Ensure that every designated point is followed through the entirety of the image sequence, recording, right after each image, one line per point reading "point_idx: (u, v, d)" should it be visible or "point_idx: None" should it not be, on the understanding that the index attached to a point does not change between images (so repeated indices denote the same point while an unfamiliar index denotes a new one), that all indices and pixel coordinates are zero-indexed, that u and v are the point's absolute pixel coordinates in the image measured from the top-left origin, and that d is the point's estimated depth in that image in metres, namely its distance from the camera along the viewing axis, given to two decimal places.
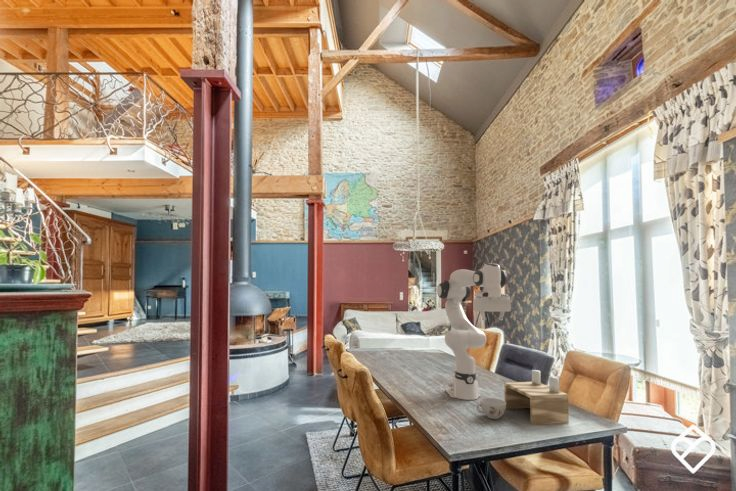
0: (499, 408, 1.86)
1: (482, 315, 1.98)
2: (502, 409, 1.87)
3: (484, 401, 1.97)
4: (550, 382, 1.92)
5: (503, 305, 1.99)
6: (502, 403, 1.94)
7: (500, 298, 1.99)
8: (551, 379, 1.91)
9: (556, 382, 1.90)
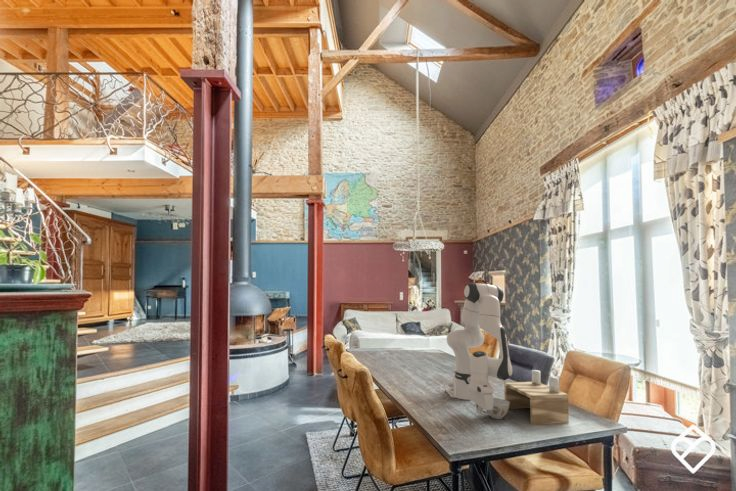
0: (502, 408, 1.86)
1: (482, 409, 1.88)
2: (505, 409, 1.87)
3: None
4: (550, 382, 1.92)
5: None
6: (505, 403, 1.94)
7: None
8: (551, 379, 1.91)
9: (556, 382, 1.90)
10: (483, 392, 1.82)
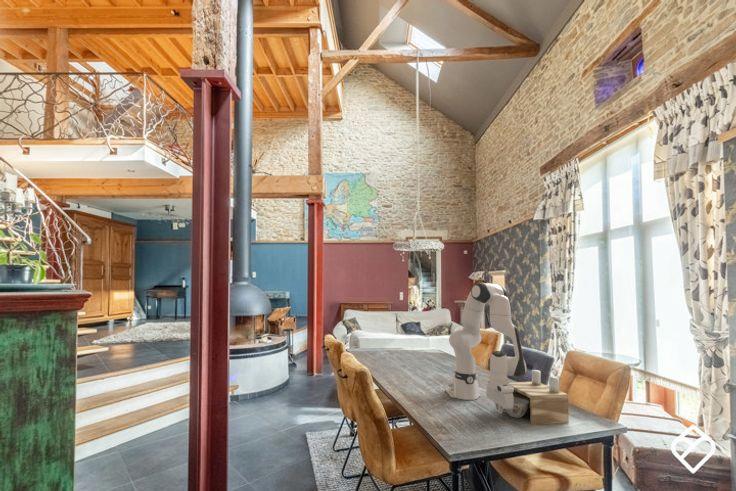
0: (522, 407, 1.88)
1: (501, 408, 1.91)
2: (525, 408, 1.89)
3: None
4: (550, 382, 1.92)
5: None
6: (524, 402, 1.96)
7: None
8: (551, 379, 1.91)
9: (556, 382, 1.90)
10: (503, 391, 1.85)
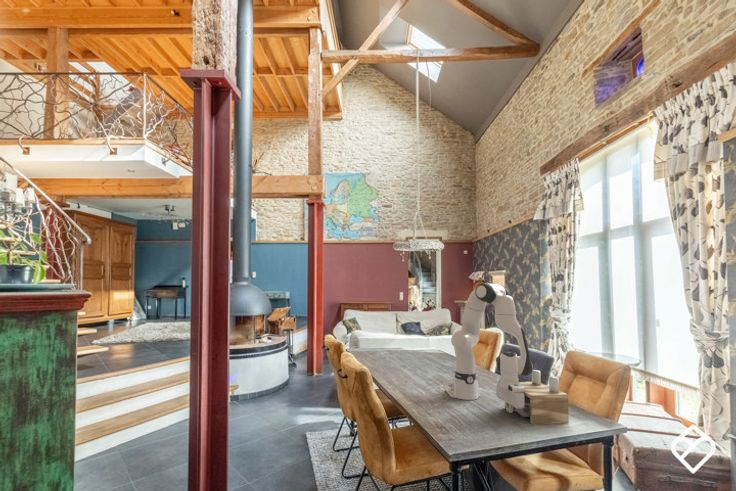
0: None
1: (512, 408, 1.92)
2: None
3: None
4: (550, 382, 1.92)
5: None
6: None
7: None
8: (551, 379, 1.91)
9: (556, 382, 1.90)
10: (514, 391, 1.86)
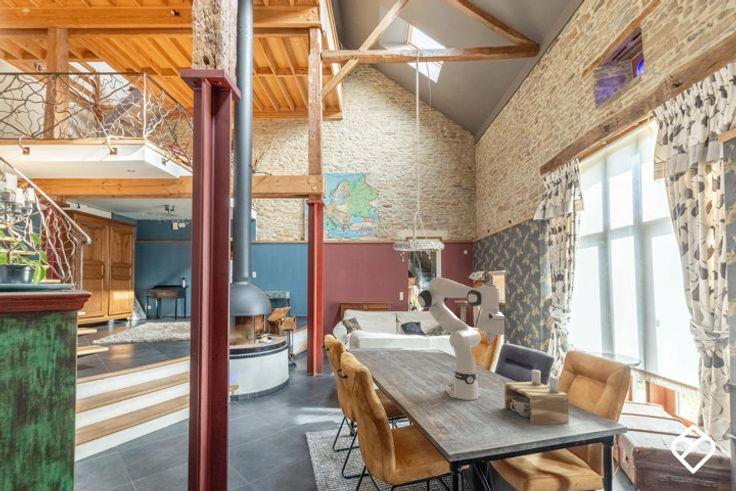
0: None
1: (493, 337, 1.95)
2: None
3: (515, 399, 2.01)
4: (550, 382, 1.92)
5: None
6: None
7: None
8: (551, 379, 1.91)
9: (556, 382, 1.90)
10: (495, 318, 1.89)
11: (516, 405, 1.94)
